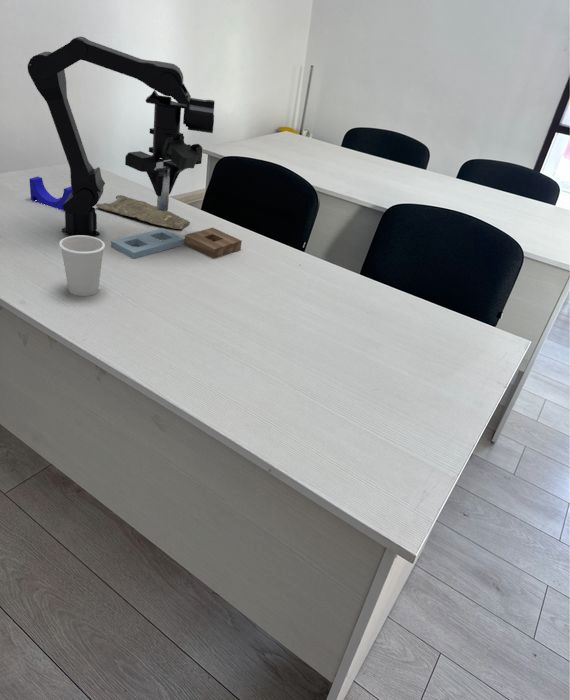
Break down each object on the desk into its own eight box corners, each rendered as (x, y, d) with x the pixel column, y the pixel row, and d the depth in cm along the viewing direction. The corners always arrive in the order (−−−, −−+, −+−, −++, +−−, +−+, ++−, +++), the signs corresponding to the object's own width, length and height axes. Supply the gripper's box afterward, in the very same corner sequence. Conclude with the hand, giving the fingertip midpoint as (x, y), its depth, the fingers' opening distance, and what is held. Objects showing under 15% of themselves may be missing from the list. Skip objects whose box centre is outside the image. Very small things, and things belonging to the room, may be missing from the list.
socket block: (213, 258, 140) (214, 249, 139) (184, 244, 145) (184, 234, 143) (240, 249, 147) (241, 240, 146) (211, 236, 152) (212, 227, 151)
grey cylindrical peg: (162, 211, 138) (164, 169, 132) (154, 208, 139) (156, 166, 134) (170, 210, 139) (172, 168, 134) (162, 206, 141) (165, 165, 135)
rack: (133, 258, 133) (133, 252, 132) (111, 246, 137) (111, 240, 136) (184, 244, 145) (184, 238, 144) (162, 233, 148) (162, 228, 147)
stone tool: (93, 210, 155) (176, 235, 150) (93, 200, 154) (177, 225, 148) (117, 201, 164) (196, 224, 159) (117, 191, 163) (197, 214, 158)
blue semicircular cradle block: (80, 208, 154) (79, 186, 151) (69, 212, 151) (68, 190, 148) (42, 197, 157) (41, 175, 154) (31, 201, 153) (29, 178, 150)
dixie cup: (59, 281, 119) (57, 235, 113) (101, 279, 122) (101, 234, 117) (63, 300, 112) (61, 252, 107) (108, 298, 116) (108, 251, 111)
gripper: (160, 139, 119) (156, 212, 127) (221, 133, 132) (215, 199, 140) (124, 125, 124) (123, 196, 132) (187, 121, 137) (182, 185, 145)
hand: (163, 194), depth 137 cm, fingers closed on grey cylindrical peg, 3 cm apart
